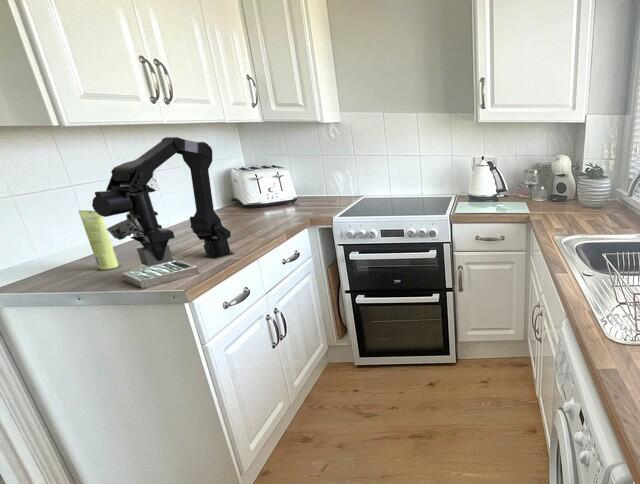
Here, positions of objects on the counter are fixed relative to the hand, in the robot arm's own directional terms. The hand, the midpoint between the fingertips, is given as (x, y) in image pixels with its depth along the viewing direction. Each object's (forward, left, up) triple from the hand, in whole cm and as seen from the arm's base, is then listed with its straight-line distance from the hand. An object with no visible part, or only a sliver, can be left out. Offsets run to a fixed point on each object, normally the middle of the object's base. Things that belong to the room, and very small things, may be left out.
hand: (156, 259), depth 128 cm
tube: (+5, -26, -6) cm, 27 cm away
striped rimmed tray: (0, 0, -6) cm, 6 cm away
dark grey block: (0, 0, -1) cm, 1 cm away
